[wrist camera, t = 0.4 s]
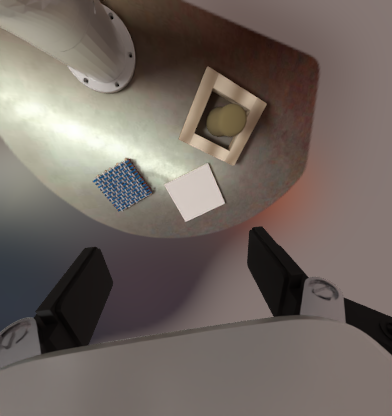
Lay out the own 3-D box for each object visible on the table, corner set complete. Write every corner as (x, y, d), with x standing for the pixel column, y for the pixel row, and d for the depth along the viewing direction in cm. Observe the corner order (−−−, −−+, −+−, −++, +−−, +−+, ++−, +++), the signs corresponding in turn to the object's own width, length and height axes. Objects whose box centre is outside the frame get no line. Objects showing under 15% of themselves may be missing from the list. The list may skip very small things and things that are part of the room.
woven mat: (92, 177, 41) (88, 180, 39) (128, 155, 40) (126, 157, 38) (120, 211, 46) (118, 214, 44) (154, 192, 44) (153, 195, 43)
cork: (234, 108, 38) (255, 100, 28) (230, 137, 40) (248, 140, 30) (207, 105, 37) (219, 97, 27) (204, 135, 39) (214, 138, 29)
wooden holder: (178, 138, 39) (178, 139, 37) (205, 70, 34) (207, 66, 32) (230, 163, 43) (233, 165, 41) (261, 105, 38) (266, 103, 36)
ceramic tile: (164, 184, 43) (164, 184, 43) (207, 162, 42) (207, 163, 41) (185, 220, 48) (185, 221, 48) (224, 202, 47) (225, 203, 47)
